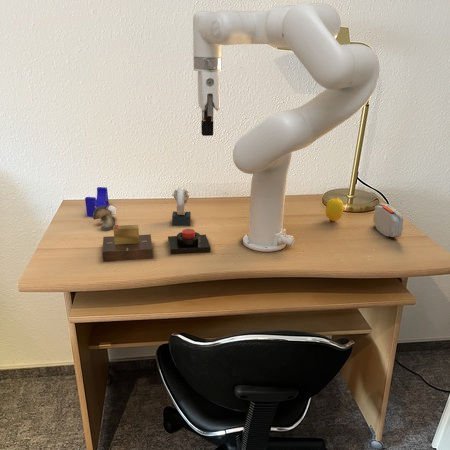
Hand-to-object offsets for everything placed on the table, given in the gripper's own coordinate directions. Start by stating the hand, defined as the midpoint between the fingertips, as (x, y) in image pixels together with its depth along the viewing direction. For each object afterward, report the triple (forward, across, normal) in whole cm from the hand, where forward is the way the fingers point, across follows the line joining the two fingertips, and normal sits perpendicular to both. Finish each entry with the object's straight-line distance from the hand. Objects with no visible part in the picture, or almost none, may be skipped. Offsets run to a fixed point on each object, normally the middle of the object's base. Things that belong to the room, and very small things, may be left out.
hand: (207, 135), depth 141 cm
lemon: (+27, -3, -41) cm, 49 cm away
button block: (+27, -17, +8) cm, 33 cm away
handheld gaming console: (+27, -14, -53) cm, 61 cm away
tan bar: (+24, -18, +25) cm, 39 cm away
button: (+24, -17, +8) cm, 30 cm away
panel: (+27, -18, +25) cm, 41 cm away
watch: (+27, +1, +8) cm, 28 cm away
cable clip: (+27, +16, +33) cm, 46 cm away
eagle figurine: (+27, +3, +32) cm, 42 cm away
